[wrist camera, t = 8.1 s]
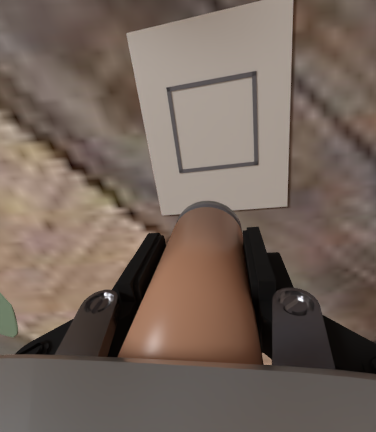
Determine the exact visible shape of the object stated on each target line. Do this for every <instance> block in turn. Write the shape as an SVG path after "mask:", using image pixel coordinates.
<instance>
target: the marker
mask: <svg viewBox="0 0 376 432" xmlns="http://www.w3.org/2000/svg"><path fill="white" fill-rule="evenodd" d="M118 357H121V358H142V359H163V360H183V361H203V362H221V363H239V364H258V365H263V359H262V352H261V346H260V340H259V334H258V328H257V322H256V316H255V310H254V307H253V304H252V298H251V291H250V285H249V278H248V272H247V266H246V259H245V253H244V246H243V236H242V229H241V224H240V221H239V219H238V217H237V215H236V214H235V213H234V212H233V211H232V210H231V209H230V208H229V207H227V206H226V205H224V204H222V203H219V202H215V201H200V202H196V203H194V204H192V205H190V206H188V207H187V208H186V209H185V210H184V211H183V212H182V213H181V214H180V216H179V218H178V220H177V223H176V225H175V227H174V229H173V232H172V234H171V236H170V238H169V241H168V243H167V245H166V248H165V250H164V252H163V254H162V257H161V259H160V261H159V263H158V266H157V268H156V270H155V273H154V275H153V277H152V279H151V282H150V284H149V286H148V289H147V291H146V293H145V295H144V298H143V300H142V302H141V304H140V307H139V309H138V311H137V314H136V316H135V318H134V320H133V323H132V325H131V327H130V329H129V332H128V334H127V336H126V339H125V341H124V343H123V345H122V348H121V350H120V352H119V354H118Z"/></svg>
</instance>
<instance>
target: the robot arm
mask: <svg viewBox="0 0 376 432" xmlns="http://www.w3.org/2000/svg"><path fill="white" fill-rule="evenodd" d="M243 246H244V253H245V259H246V266H247V272H248V278H249V285H250V291H251V298H252V304H253V307H254V310H255V316H256V322H257V328H258V334H259V340H260V346H261V352H262V353H265V354H266V355H267V356H268V357H269V358H271V359H272V365H258V364H239V363H221V362H203V361H183V360H163V359H142V358H121V357H118V354H119V352H120V350H121V348H122V345H123V343H124V341H125V339H126V336H127V334H128V332H129V329H130V327H131V325H132V323H133V320H134V318H135V316H136V314H137V311H138V309H139V307H140V304H141V302H142V300H143V298H144V295H145V293H146V291H147V289H148V286H149V284H150V282H151V279H152V277H153V275H154V273H155V270H156V268H157V266H158V263H159V261H160V259H161V257H162V254H163V252H164V250H165V248H166V243H165V239H164V236H163V235H160V233H149V234H148V235H147V236H146V238H145V240H144V241H143V243H142V244H141V246H140V247H139V249H138V251H137V252H136V254H135V255H134V257H133V258H132V260H131V261H130V262H129V264H128V265H127V267H126V269H125V270H124V272H123V273H122V275H121V276H120V278H119V279H118V281H117V283H116V284H115V286H114V287H113V289H112V290H102V291H98V292H96V293H94V294H92V295H91V296H89V297H88V298H87V299H86V300H84V302H83V303H82V304H81V306H80V308H79V310H78V312H77V314H76V316H75V317H74V319H72V320H70V321H69V322H67V323H65V324H63V325H61V326H59V327H57V328H56V329H54V330H52V331H50V332H48V333H46V334H44V335H43V336H41V337H39V338H37V339H35V340H33V341H31V342H30V343H28V344H27V345H25V346H24V347H22V348H21V349H20V350H19V351H18V352H17V353H16V354H15V355H0V432H376V343H373V342H371V341H369V340H368V339H366V338H364V337H362V336H360V335H358V334H357V333H355V332H353V331H351V330H349V329H347V328H346V327H344V326H342V325H340V324H338V323H336V322H335V321H333V320H331V319H329V318H327V317H325V316H324V315H322V312H321V308H320V305H319V302H318V300H317V299H316V298H315V297H314V296H313V295H311V294H310V293H308V292H307V291H304V290H302V289H298V288H294V287H293V285H292V282H291V280H290V277H289V275H288V273H287V270H286V268H285V265H284V263H283V260H282V258H281V256H280V254H279V253H278V252H276V253H267V252H266V249H265V245H264V242H263V239H262V236H261V233H260V230H259V227H248V228H247V230H246V231H243Z"/></svg>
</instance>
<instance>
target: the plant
mask: <svg viewBox="0 0 376 432" xmlns="http://www.w3.org/2000/svg"><path fill="white" fill-rule="evenodd" d="M17 333H18V326H17V321H16V317H15V313H14V310H13V308H12V306H11V304H10V303H9V302H8V301H7V300H6V299H5V298H4V296H3V295H2V294H1V293H0V334H2V335H6V336H10V337H14V336H16V335H17Z"/></svg>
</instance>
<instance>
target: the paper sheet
mask: <svg viewBox="0 0 376 432" xmlns="http://www.w3.org/2000/svg"><path fill="white" fill-rule="evenodd" d="M292 27H293V0H262V1H257V2H253V3H249V4H245V5H241V6H237V7H233V8H229V9H224V10H220V11H216V12H212V13H208V14H204V15H200V16H196V17H192V18H187V19H183V20H179V21H175V22H171V23H167V24H163V25H159V26H154V27H150V28H146V29H142V30H138V31H134V32H130V33H126V34H127V39H128V45H129V50H130V55H131V60H132V65H133V70H134V75H135V80H136V86H137V91H138V96H139V101H140V106H141V111H142V116H143V121H144V126H145V132H146V137H147V142H148V147H149V152H150V157H151V162H152V167H153V173H154V178H155V183H156V188H157V193H158V198H159V203H160V208H161V214H162V215H175V214H181V213H182V212H183V211H184V210H185V209H186V208H187V207H188V206H190V205H192V204H194V203H196V202H200V201H215V202H219V203H222V204H224V205H226V206H227V207H229V208H230V209H231V210H245V209H259V208H273V207H287V198H288V164H289V129H290V95H291V61H292Z"/></svg>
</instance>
